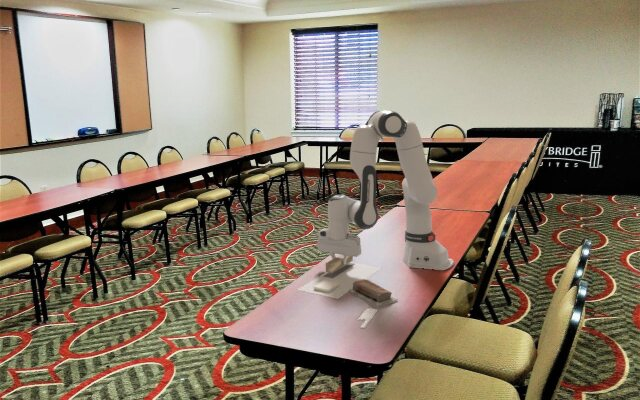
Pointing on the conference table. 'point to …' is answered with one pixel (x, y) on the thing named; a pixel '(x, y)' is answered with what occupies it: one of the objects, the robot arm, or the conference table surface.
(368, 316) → the white notched flat strip
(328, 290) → the tile
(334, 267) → the long tan strip
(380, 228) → the conference table surface
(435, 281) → the conference table surface
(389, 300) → the packaged product
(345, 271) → the mat
